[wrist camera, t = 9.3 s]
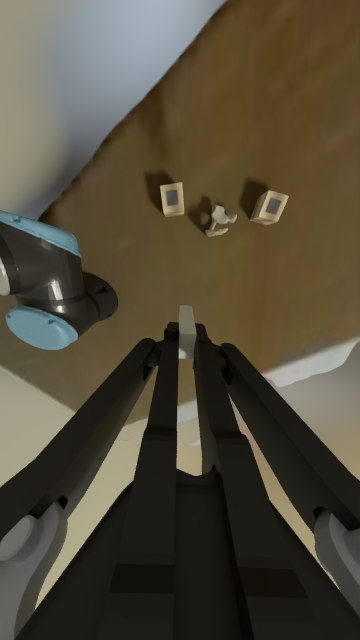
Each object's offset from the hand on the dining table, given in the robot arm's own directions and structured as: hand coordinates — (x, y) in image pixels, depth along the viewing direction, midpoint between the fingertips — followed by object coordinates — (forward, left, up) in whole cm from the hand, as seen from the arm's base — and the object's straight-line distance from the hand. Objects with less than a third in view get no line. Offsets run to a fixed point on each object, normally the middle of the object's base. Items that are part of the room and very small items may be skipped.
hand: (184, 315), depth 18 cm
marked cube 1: (+20, +18, -31) cm, 41 cm away
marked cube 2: (-4, +18, -31) cm, 36 cm away
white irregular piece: (+8, +15, -31) cm, 35 cm away
